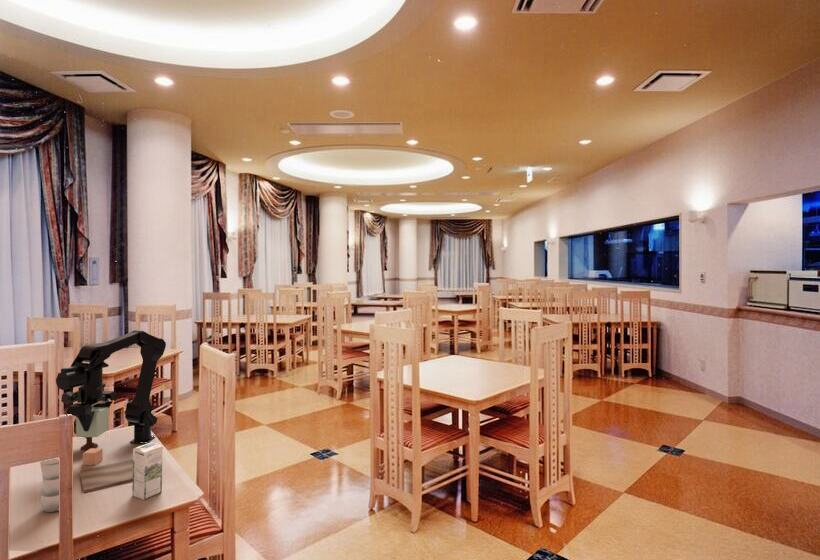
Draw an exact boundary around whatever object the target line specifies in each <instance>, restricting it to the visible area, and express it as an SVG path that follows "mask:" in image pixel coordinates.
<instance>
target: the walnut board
mask: <svg viewBox="0 0 820 560" xmlns="http://www.w3.org/2000/svg"><path fill="white" fill-rule="evenodd" d="M79 473H80V474H79V475H80V481H81V485H82V491H83V492H82V493H88V492H92V491H97V490H101V489H105V488H110V487H113V486H118V485H121V484H126V483H130V482H131V483H132V482H133V458H131V459H127V460H122V461H117V462H113V463H108V464H104V465H98V466H93V467H90V468H84V469H81V470H79Z"/></svg>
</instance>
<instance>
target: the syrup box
mask: <svg viewBox="0 0 820 560" xmlns="http://www.w3.org/2000/svg"><path fill="white" fill-rule="evenodd" d="M163 448H164V447H163V446H162V445H160V444H158V443H156V442H153V441H152V442H151V441H149V442H148V443H144V444H143V445H139V446H137V447H134V448H132V459H133V481H132V482H131V483H132V491H131V492H132V493H131V495H132V496H133V497H135V498H138V499H140V500H143V501H145V500H147V499H150V498H152V497H154V496H156V495H158V494H160V493H162V492H163V491H162V490H163V450H164V449H163Z"/></svg>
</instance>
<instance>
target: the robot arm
mask: <svg viewBox="0 0 820 560" xmlns="http://www.w3.org/2000/svg"><path fill="white" fill-rule="evenodd" d="M133 345H137V346H138V347H139V348H140V352H139V353H140V356H141V359H142V362H141V367H140V371H139V372H140V373H139V377H138V381H137V385H136V390H135V393H134V394H135V395H134V398H133V399H132V400H131V402H127V403H126V405H125V411H124V412H123V413H124V415H125V416H124V417H125V420H126V421H127V423H128V425H129V426H130V425H131V426H133V439H132V440H130V441H129V443H130V444H141V443H140V442H148V441H149V442H151V441H152V440H153V439H154V438H155V437H154V436H155V435H152V427H154V426H155V425H156V424H158V423H157V422H158V417H157V416H155V415H154V414H153V413H152V412H153V411H152V408H153V406H152V403H151V400H150V397H151V392H152V389H153V388H152V387H153V383H154V377H155V374H156V368H157V364H158V362H159V361H160V359H161V358H162V357H163V355H164V353H165V350H166V347H167V342H166V341H165V340H164V339H163V338H159V337H157V336H154V335H152V334H149V333H148V332H146V331H144V330H131V331H130V332H128V333H126V334H123V335H120V336H118V337H114V338H113V339H110V340H107V341H104V342H96V343H91V344H85V345H83V346H82V347H80V350H79V352H78V353H77V355H76V357H75V358H74V360H73V361H72V363H71V365H70V367H61V369H60V372H59V373H58V374H57V376H56V378H55V384H56V386H57V388H58V389H59V390H61V391H65V390H69V389H73V388H78V390H76V391H73V392H71V391H68V392H64V393H62V394H61V398H60V399H61V400H60V401H61V403H62V404H65V405H66V406H67V408H65V415H66V416H68V415H67V414H72V415H73V417H74V416H75V417H77V418H78V419H79V421H80V423H81V425H82V427H83V430H84V431H88V430H89V428H90V425H91V421H92V418H93V415H94V411H91V410H92V406H93V407H108V410H109V409H110V407H111V405H112V404H113V401H115V400H117V398H118V393H117V392H116V391H114V390H103V389H104V387H106V383H104V382H103V381H104V380H103V379H104V376H103V372H104V371H103V370H104V368H108V367H109V364H108V363H107V362H105V361H106V360H107V359H109V358H110V357H111V356H112V354H115V353H116V352H118V351H121V350H123V349H127V348H128V347H131V346H133ZM72 403H73V404H72ZM70 404H71V405H70ZM68 405H69V406H68ZM152 436H153V437H154V438H153V437H152ZM151 439H152V440H151ZM150 440H151V441H150ZM149 442H148V443H149Z"/></svg>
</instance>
